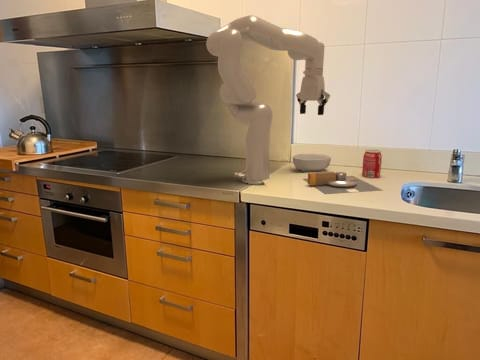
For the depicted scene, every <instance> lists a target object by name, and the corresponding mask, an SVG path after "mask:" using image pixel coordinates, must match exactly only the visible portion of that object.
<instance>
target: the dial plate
mask: <svg viewBox="0 0 480 360" xmlns="http://www.w3.org/2000/svg"><path fill="white" fill-rule="evenodd" d="M346 176H347V177H352V178H355V179H356V180H357V185H355V186H351V187H337V186H331V185H327V184H321V185H311V186H312V187H314V188H315V189H316V190H318V191H320V192H321V193H323V194H324V195H333V194H334V195H335V194H349V193H350V194H351V193H364V192H365V193H367V192H368V193H369V192H376V191H377V192H380V191H381V192H382V191H384V190H383V189H381V188H380V187H377V186H375V185H373V184H371V183H368V182H367V181H366V180H365V181H364V179H363V180H362V179H361V178H359V177H357V176H354V175H346ZM302 180H303V181H304V182H306V183H307V184H308V178H302Z"/></svg>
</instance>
